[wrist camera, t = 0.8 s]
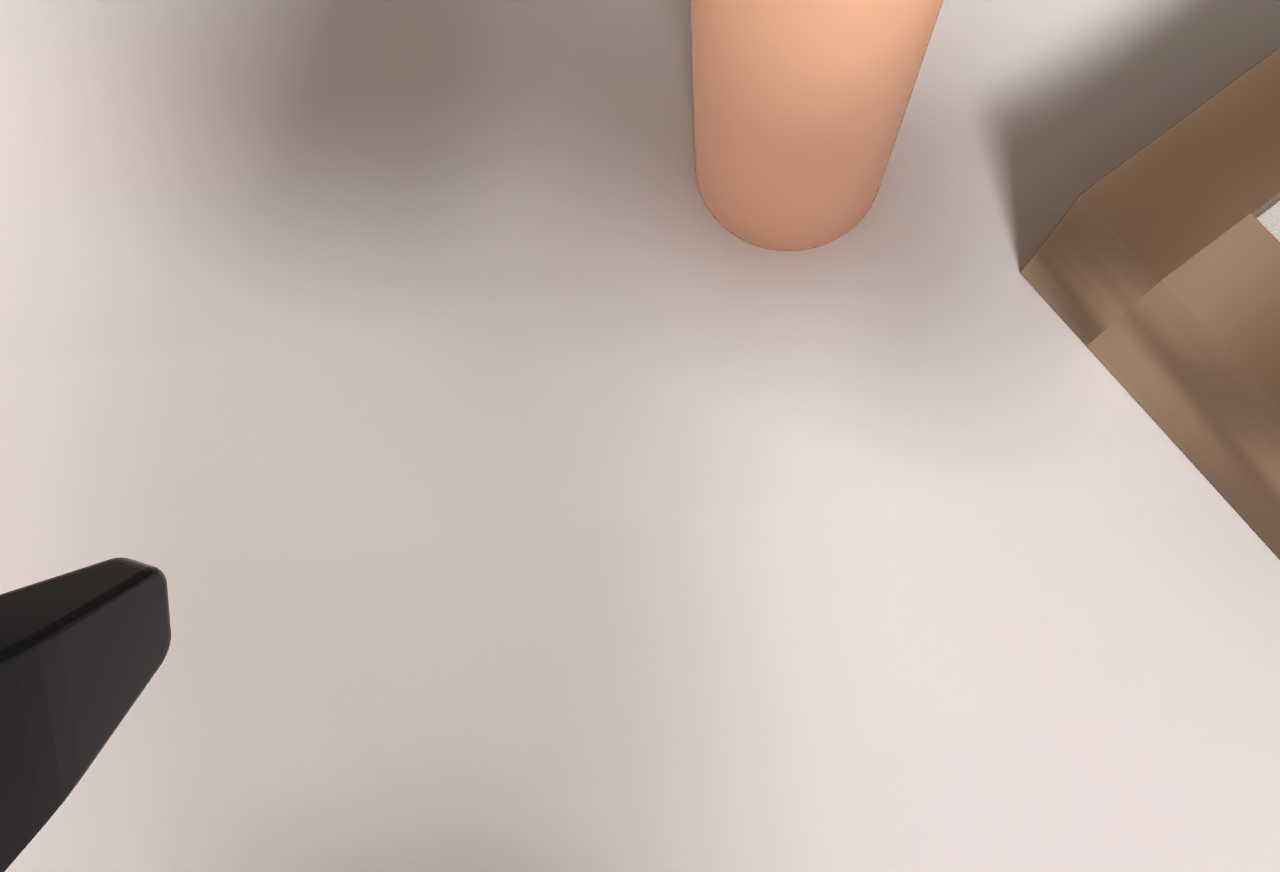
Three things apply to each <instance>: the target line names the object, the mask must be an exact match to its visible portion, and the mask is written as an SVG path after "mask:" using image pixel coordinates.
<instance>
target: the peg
mask: <svg viewBox="0 0 1280 872" xmlns="http://www.w3.org/2000/svg"><path fill="white" fill-rule="evenodd" d="M942 3H943V0H691V32H692V64H693V97H694V130H695V162H696V178H697V183H698V187H699V190H700V193H701V196H702V198H703V200H704V202H705V204H706V206H707V208H708V209H709V211H710V212H711V213H712V215H713V216H714V217H715V219H716V220H717V221H718V222H719V223H720V224H721V225H722V226H723V227H725V228H726V229H727V230H728V231H729V232H731V233H732V234H734V235H735V236H737V237H739V238H740V239H742V240H744V241H746V242H749V243H751V244H753V245H756V246H760V247H763V248H767V249H773V250H782V251H795V250H805V249H810V248H815V247H818V246H821V245H824V244H827V243H829V242H831V241H833V240H835V239H837V238H839V237H840V236H842V235H844V234H845V233H847V232H848V231H849V230H850V229H852V228H853V227H854V226H855V225H856V224H857V223H858V222H859V221H860V220H861V219H862V218H863V217H864V216H865V214H866V213H867V211H868V210H869V208H870V207H871V205H872V203H873V201H874V199H875V197H876V195H877V192H878V189H879V186H880V183H881V180H882V178H883V175H884V172H885V169H886V166H887V163H888V160H889V157H890V154H891V151H892V148H893V145H894V143H895V140H896V137H897V134H898V131H899V128H900V125H901V122H902V119H903V116H904V113H905V110H906V108H907V105H908V102H909V99H910V96H911V93H912V90H913V87H914V84H915V81H916V78H917V76H918V73H919V70H920V67H921V64H922V61H923V58H924V55H925V52H926V49H927V46H928V43H929V41H930V38H931V35H932V32H933V29H934V26H935V23H936V20H937V17H938V14H939V11H940V8H941V6H942Z"/></svg>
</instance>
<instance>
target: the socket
mask: <svg viewBox="0 0 1280 872" xmlns="http://www.w3.org/2000/svg"><path fill="white" fill-rule="evenodd" d="M1279 201H1280V48H1279V49H1277V50H1276V51H1274V52H1273V53H1272V54H1270V55H1269V56H1268V57H1266V58H1265V59H1264V60H1262V61H1261V62H1260V63H1258V64H1257V65H1255V66H1254V67H1253V68H1251V69H1250V70H1249V71H1247V72H1246V73H1245V74H1243V75H1242V76H1241V77H1239V78H1238V79H1236V80H1235V81H1234V82H1232V83H1231V84H1230V85H1228V86H1227V87H1226V88H1224V89H1223V90H1222V91H1220V92H1219V93H1217V94H1216V95H1215V96H1213V97H1212V98H1211V99H1209V100H1208V101H1207V102H1205V103H1204V104H1203V105H1201V106H1200V107H1199V108H1197V109H1196V110H1194V111H1193V112H1192V113H1190V114H1189V115H1188V116H1186V117H1185V118H1184V119H1182V120H1181V121H1180V122H1178V123H1177V124H1175V125H1174V126H1173V127H1171V128H1170V129H1169V130H1167V131H1166V132H1165V133H1163V134H1162V135H1161V136H1159V137H1158V138H1156V139H1155V140H1154V141H1152V142H1151V143H1150V144H1148V145H1147V146H1146V147H1144V148H1143V149H1142V150H1140V151H1139V152H1137V153H1136V154H1135V155H1133V156H1132V157H1131V158H1129V159H1128V160H1127V161H1125V162H1124V163H1123V164H1121V165H1120V166H1118V167H1117V168H1116V169H1114V170H1113V171H1112V172H1110V173H1109V174H1108V175H1106V176H1105V177H1104V178H1102V179H1101V180H1099V181H1098V182H1097V183H1095V184H1094V185H1093V186H1091V187H1090V188H1089V189H1087V190H1086V191H1085V192H1083V193H1082V194H1080V196H1079V197H1078V198H1077V200H1076V201H1075V202H1074V203H1073V205H1072V206H1071V207H1070V209H1069V210H1068V211H1067V213H1066V214H1065V215H1064V217H1063V218H1062V219H1061V220H1060V222H1059V223H1058V224H1057V226H1056V227H1055V228H1054V230H1053V231H1052V232H1051V233H1050V235H1049V236H1048V237H1047V239H1046V240H1045V241H1044V243H1043V244H1042V245H1041V247H1040V248H1039V249H1038V250H1037V252H1036V253H1035V254H1034V256H1033V257H1032V258H1031V260H1030V261H1029V262H1028V264H1027V265H1026V266H1025V267H1024V269H1023V270H1022V271H1021V274H1022V275H1023V277H1024V278H1025V279H1026V280H1027V281H1028V282H1029V283H1030V284H1031V285H1032V287H1033V288H1034V289H1035V290H1036V291H1037V292H1038V293H1039V294H1040V295H1041V296H1042V298H1043V299H1044V300H1045V301H1046V302H1047V303H1048V304H1049V305H1050V306H1051V308H1052V309H1053V310H1054V311H1055V312H1056V313H1057V314H1058V315H1059V316H1060V317H1061V319H1062V320H1063V321H1064V322H1065V323H1066V324H1067V325H1068V326H1069V327H1070V329H1071V330H1072V331H1073V332H1074V333H1075V334H1076V335H1077V336H1078V337H1079V338H1080V340H1081V341H1082V342H1083V343H1084V344H1085V345H1086V346H1087V347H1088V348H1089V349H1090V351H1091V352H1092V353H1093V354H1094V355H1095V356H1096V357H1097V358H1098V359H1099V361H1100V362H1101V363H1102V364H1103V365H1104V366H1105V367H1106V368H1107V369H1108V370H1109V372H1110V373H1111V374H1112V375H1113V376H1114V377H1115V378H1116V379H1117V380H1118V382H1119V383H1120V384H1121V385H1122V386H1123V387H1124V388H1125V389H1126V390H1127V391H1128V393H1129V394H1130V395H1131V396H1132V397H1133V398H1134V399H1135V400H1136V401H1137V403H1138V404H1139V405H1140V406H1141V407H1142V408H1143V409H1144V410H1145V411H1146V412H1147V414H1148V415H1149V416H1150V417H1151V418H1152V419H1153V420H1154V421H1155V422H1156V423H1157V425H1158V426H1159V427H1160V428H1161V429H1162V430H1163V431H1164V432H1165V433H1166V435H1167V436H1168V437H1169V438H1170V439H1171V440H1172V441H1173V442H1174V443H1175V444H1176V446H1177V447H1178V448H1179V449H1180V450H1181V451H1182V452H1183V453H1184V454H1185V456H1186V457H1187V458H1188V459H1189V460H1190V461H1191V462H1192V463H1193V464H1194V465H1195V467H1196V468H1197V469H1198V470H1199V471H1200V472H1201V473H1202V474H1203V475H1204V476H1205V478H1206V479H1207V480H1208V481H1209V482H1210V483H1211V484H1212V485H1213V486H1214V488H1215V489H1216V490H1217V491H1218V492H1219V493H1220V494H1221V495H1222V496H1223V497H1224V499H1225V500H1226V501H1227V502H1228V503H1229V504H1230V505H1231V506H1232V507H1233V509H1234V510H1235V511H1236V512H1237V513H1238V514H1239V515H1240V516H1241V517H1242V518H1243V520H1244V521H1245V522H1246V523H1247V524H1248V525H1249V526H1250V527H1251V528H1252V530H1253V531H1254V532H1255V533H1256V534H1257V535H1258V536H1259V537H1260V538H1261V539H1262V541H1263V542H1264V543H1265V544H1266V545H1267V546H1268V547H1269V548H1270V549H1271V550H1272V552H1273V553H1274V554H1275V555H1276V556H1277V557H1278V558H1279V559H1280V242H1279V241H1278V240H1277V239H1276V238H1275V237H1274V236H1273V235H1272V234H1271V233H1270V232H1269V231H1268V230H1267V229H1266V228H1265V227H1264V226H1263V225H1262V224H1261V223H1260V222H1259V221H1258V220H1257V219H1256V218H1257V217H1259V216H1260V215H1261V214H1263V213H1264V212H1265V211H1267V210H1268V209H1269V208H1271V207H1272V206H1273V205H1275V204H1276V203H1277V202H1279Z"/></svg>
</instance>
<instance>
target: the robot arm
mask: <svg viewBox="0 0 1280 872" xmlns="http://www.w3.org/2000/svg"><path fill="white" fill-rule="evenodd" d="M170 640H171V628H170V616H169V603H168V591H167V581H166V577H165V576H164V574H163V572H162V571H161V570H159V569H158V568H156V567H153V566H150V565H147V564H144V563H141V562H138V561H135V560H132V559H128V558H114V559H110V560H107V561H104V562H100V563H97V564H94V565H91V566H88V567H85V568H82V569H79V570H76V571H73V572H69V573H66V574H63V575H60V576H57V577H54V578H51V579H48V580H45V581H41V582H38V583H35V584H32V585H29V586H26V587H23V588H20V589H17V590H13V591H10V592H7V593H4V594H1V595H0V872H4V871H5V870H6V869H7V868H8V867H9V866H10V864H11V863H12V862H13V861H14V860H15V859H16V857H17V856H18V855H19V854H20V853H21V852H22V850H23V849H24V848H25V847H26V846H27V845H28V843H29V842H30V841H31V840H32V839H33V838H34V836H35V835H36V834H37V833H38V832H39V831H40V829H41V828H42V827H43V826H44V825H45V824H46V822H47V821H48V820H49V819H50V818H51V816H52V815H53V814H54V813H55V812H56V810H57V809H58V808H59V807H60V805H61V804H62V803H63V802H64V801H65V799H66V798H67V797H68V795H69V794H70V793H71V791H72V790H73V789H74V787H75V786H76V785H77V783H78V782H79V781H80V779H81V778H82V776H83V775H84V774H85V772H86V771H87V769H88V768H89V766H90V765H91V764H92V762H93V761H94V759H95V758H96V756H97V755H98V754H99V752H100V751H101V749H102V748H103V746H104V745H105V744H106V742H107V741H108V739H109V738H110V737H111V735H112V734H113V732H114V731H115V729H116V728H117V727H118V725H119V724H120V722H121V721H122V719H123V718H124V717H125V715H126V714H127V712H128V711H129V709H130V708H131V707H132V705H133V704H134V702H135V701H136V699H137V698H138V697H139V695H140V694H141V692H142V691H143V689H144V688H145V687H146V685H147V684H148V682H149V681H150V679H151V678H152V677H153V675H154V674H155V672H156V671H157V670H158V668H159V667H160V665H161V664H162V662H163V660H164V658H165V656H166V654H167V652H168V649H169V646H170Z"/></svg>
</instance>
